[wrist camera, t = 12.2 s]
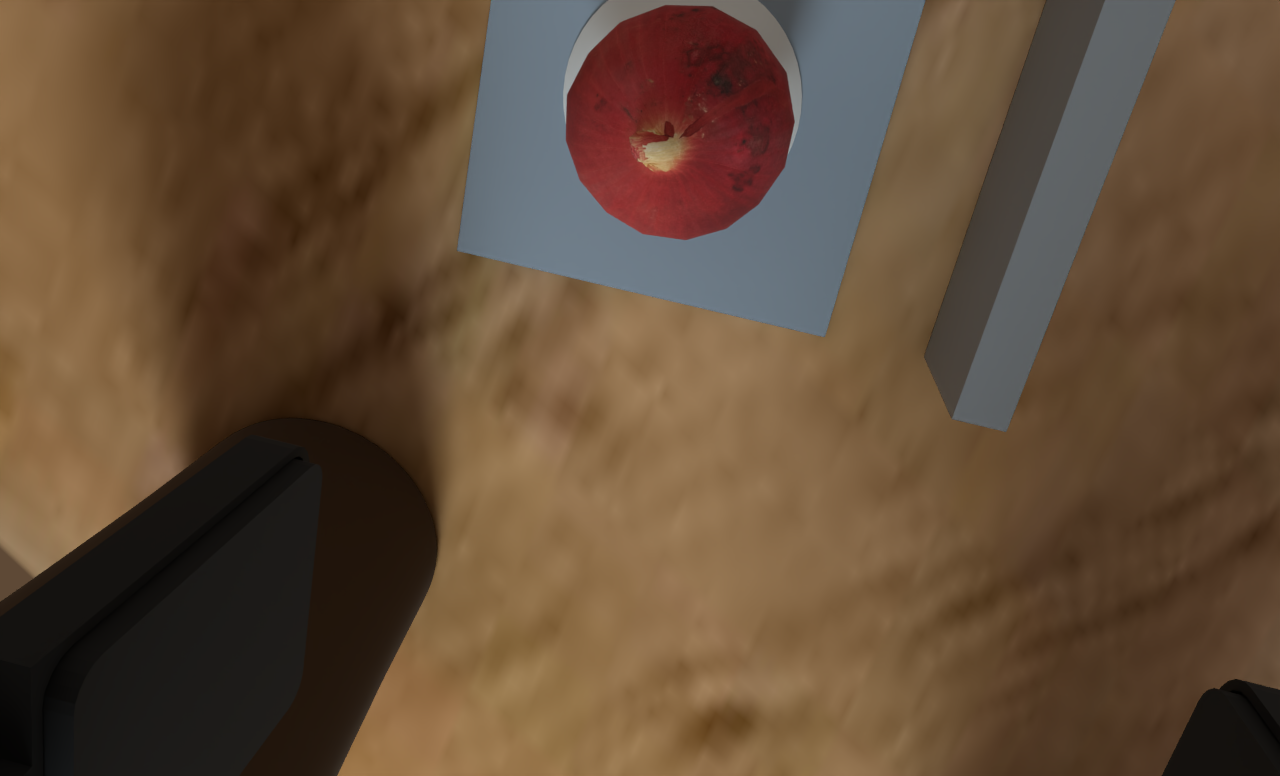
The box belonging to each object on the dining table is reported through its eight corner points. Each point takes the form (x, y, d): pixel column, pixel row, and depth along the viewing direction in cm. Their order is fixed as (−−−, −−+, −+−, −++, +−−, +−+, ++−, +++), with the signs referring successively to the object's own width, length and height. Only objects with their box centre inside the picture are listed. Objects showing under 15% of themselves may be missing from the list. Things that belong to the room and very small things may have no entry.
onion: (707, -43, 27) (686, -58, 20) (829, 124, 28) (853, 169, 21) (552, 94, 29) (480, 127, 22) (673, 245, 30) (644, 325, 23)
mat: (824, 333, 31) (825, 338, 31) (460, 247, 32) (456, 251, 31) (945, -74, 27) (948, -76, 26) (517, -168, 27) (513, -172, 27)
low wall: (970, 367, 31) (1006, 431, 26) (923, 356, 31) (952, 418, 27) (1117, -36, 26) (1192, -43, 22) (1063, -48, 27) (1126, -57, 22)
